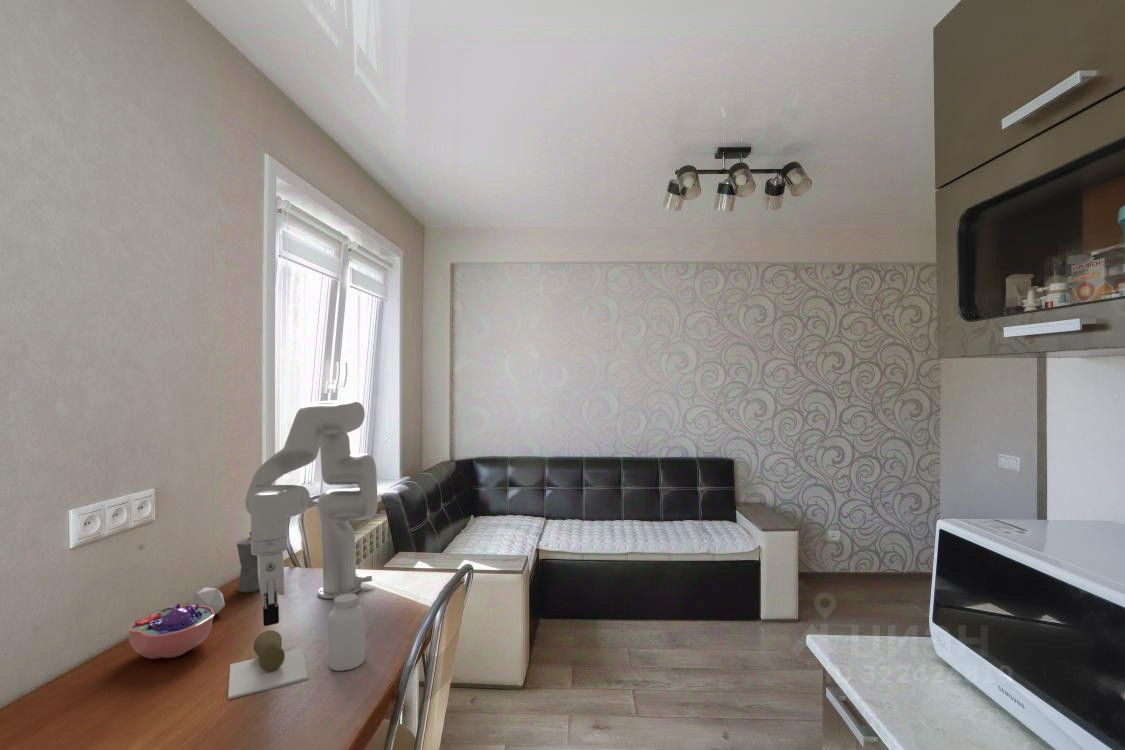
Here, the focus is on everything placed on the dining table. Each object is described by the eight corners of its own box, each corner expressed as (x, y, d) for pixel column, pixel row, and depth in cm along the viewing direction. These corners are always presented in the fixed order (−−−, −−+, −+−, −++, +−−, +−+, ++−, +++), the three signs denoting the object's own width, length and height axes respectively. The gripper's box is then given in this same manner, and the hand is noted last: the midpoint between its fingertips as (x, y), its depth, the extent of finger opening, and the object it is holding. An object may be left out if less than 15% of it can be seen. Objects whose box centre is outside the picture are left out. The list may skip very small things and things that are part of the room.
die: (232, 616, 162) (228, 583, 167) (213, 611, 155) (210, 577, 160) (203, 628, 162) (201, 595, 166) (183, 624, 154) (181, 590, 159)
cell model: (202, 629, 152) (201, 586, 153) (223, 653, 138) (222, 606, 138) (122, 651, 141) (122, 605, 141) (136, 680, 126) (135, 629, 126)
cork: (255, 631, 135) (259, 648, 125) (283, 628, 138) (289, 645, 129) (251, 658, 134) (255, 677, 125) (280, 655, 137) (285, 673, 128)
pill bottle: (372, 657, 134) (371, 593, 134) (349, 674, 126) (347, 606, 126) (345, 653, 136) (343, 589, 137) (320, 669, 129) (318, 602, 129)
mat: (301, 650, 139) (301, 648, 139) (307, 679, 125) (307, 676, 125) (230, 666, 131) (230, 664, 131) (228, 699, 117) (228, 696, 117)
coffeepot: (229, 587, 184) (227, 531, 184) (259, 579, 192) (258, 525, 192) (250, 597, 175) (248, 538, 175) (281, 588, 182) (280, 531, 182)
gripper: (289, 549, 129) (291, 631, 129) (285, 535, 142) (287, 609, 142) (251, 555, 126) (253, 639, 125) (251, 540, 139) (252, 616, 139)
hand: (271, 623), depth 134 cm, fingers closed
